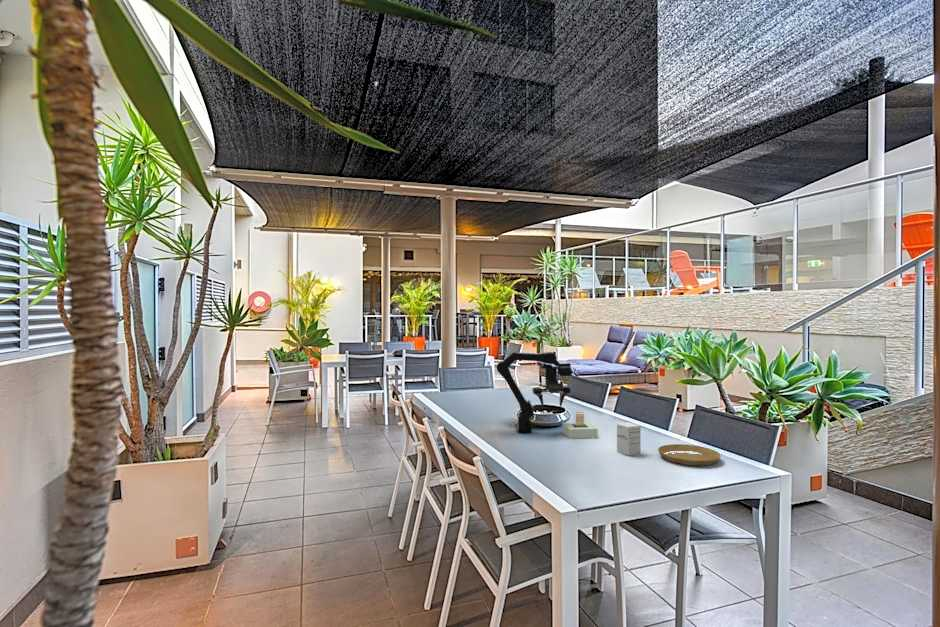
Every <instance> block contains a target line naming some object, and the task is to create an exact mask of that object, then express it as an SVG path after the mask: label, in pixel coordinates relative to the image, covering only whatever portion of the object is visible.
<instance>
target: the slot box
mask: <svg viewBox="0 0 940 627" xmlns="http://www.w3.org/2000/svg"><path fill="white" fill-rule="evenodd" d="M562 432H563V434H565V435H566V437H569V438H573V439H593V438H592V437H598V436H599V432H598V427H596V426H595V425H593V423H591V422H589V421H584V427H577V428H576V421H575V422H562ZM569 438H568V439H569ZM598 438H599V437H598Z"/></svg>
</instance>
